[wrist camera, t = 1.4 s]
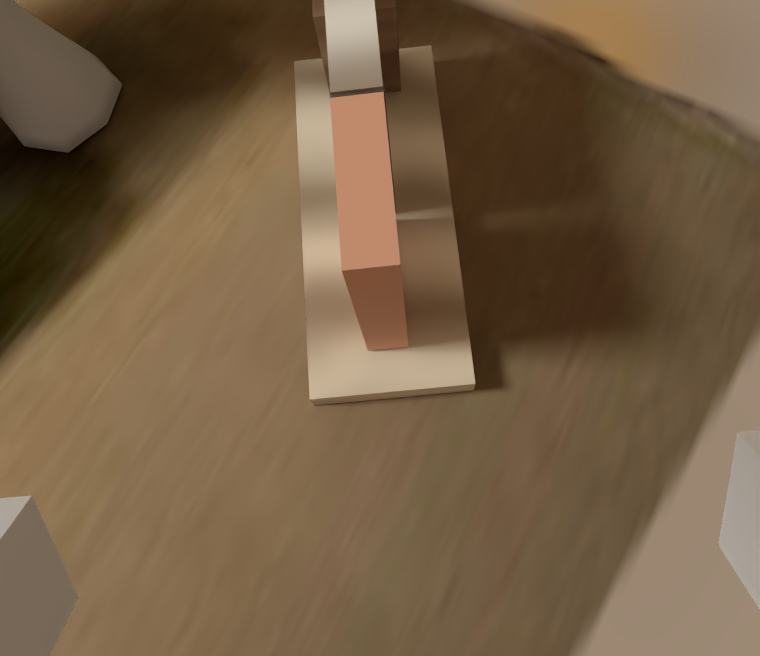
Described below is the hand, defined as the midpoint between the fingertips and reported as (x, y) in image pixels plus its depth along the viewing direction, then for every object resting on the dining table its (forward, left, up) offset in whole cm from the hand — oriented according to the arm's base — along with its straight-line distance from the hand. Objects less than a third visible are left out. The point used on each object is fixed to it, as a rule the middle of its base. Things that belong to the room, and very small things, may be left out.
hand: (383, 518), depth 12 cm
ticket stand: (-15, +5, -19) cm, 25 cm away
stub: (-11, +4, -17) cm, 21 cm away
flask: (-31, -9, -19) cm, 38 cm away
